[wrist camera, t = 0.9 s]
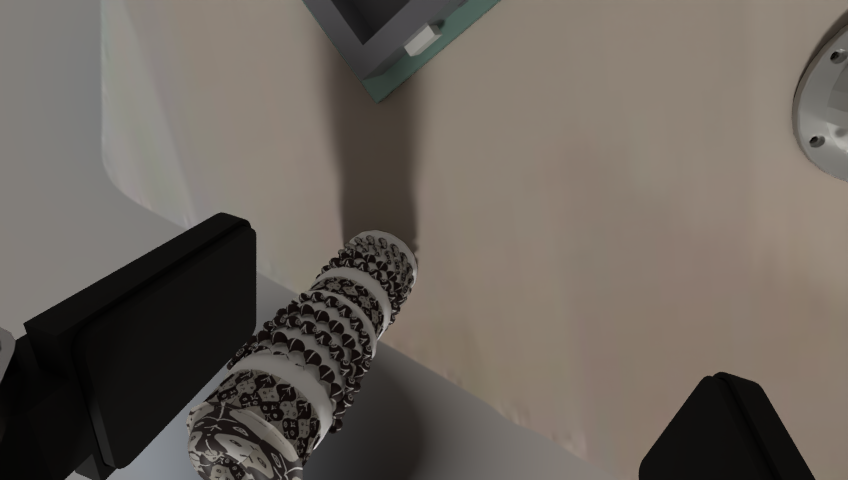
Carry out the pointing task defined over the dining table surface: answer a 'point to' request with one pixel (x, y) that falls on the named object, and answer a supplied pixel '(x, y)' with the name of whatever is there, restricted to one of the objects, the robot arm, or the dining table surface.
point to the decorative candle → (302, 366)
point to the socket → (381, 29)
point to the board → (454, 25)
